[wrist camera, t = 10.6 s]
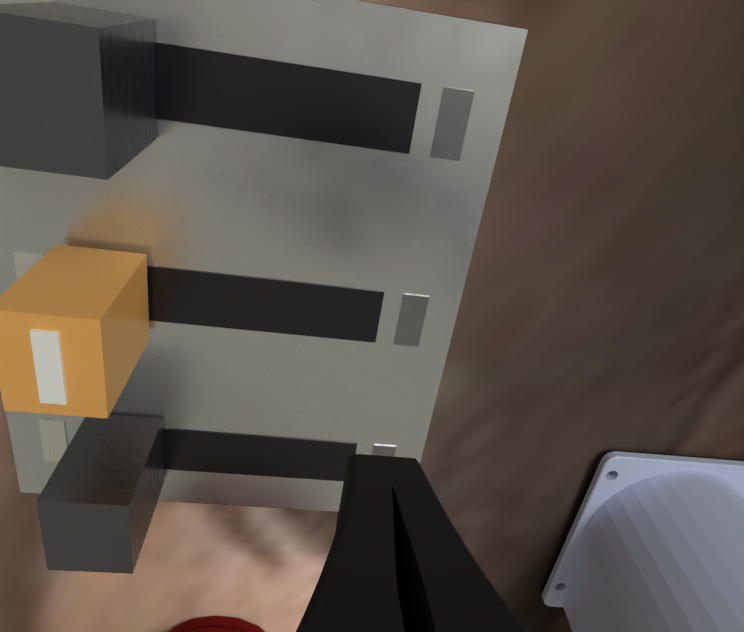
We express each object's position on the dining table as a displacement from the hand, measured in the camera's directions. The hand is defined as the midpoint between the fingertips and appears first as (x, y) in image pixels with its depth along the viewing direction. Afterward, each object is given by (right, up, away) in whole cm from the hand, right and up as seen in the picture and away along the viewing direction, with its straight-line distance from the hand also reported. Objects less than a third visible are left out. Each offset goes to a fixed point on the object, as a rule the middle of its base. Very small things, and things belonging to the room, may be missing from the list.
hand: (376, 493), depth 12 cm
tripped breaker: (-8, +4, +5) cm, 10 cm away
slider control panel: (-5, +5, +8) cm, 10 cm away
